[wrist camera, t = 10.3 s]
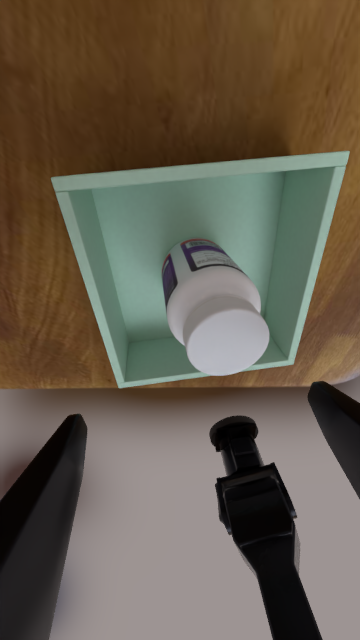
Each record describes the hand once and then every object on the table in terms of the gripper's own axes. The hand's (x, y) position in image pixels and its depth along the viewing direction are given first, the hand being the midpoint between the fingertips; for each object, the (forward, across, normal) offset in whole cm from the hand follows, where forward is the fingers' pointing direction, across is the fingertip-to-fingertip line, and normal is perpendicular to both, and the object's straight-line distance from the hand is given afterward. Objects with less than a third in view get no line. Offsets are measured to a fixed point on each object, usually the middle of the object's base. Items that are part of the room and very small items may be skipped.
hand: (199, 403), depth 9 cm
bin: (+13, -2, -1) cm, 13 cm away
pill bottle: (+12, -2, 0) cm, 13 cm away
